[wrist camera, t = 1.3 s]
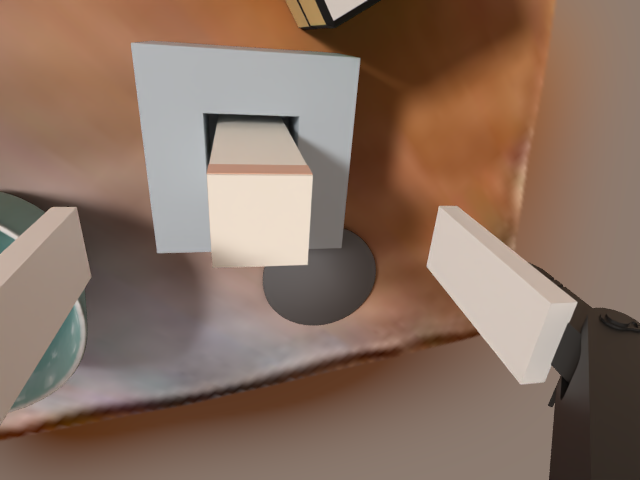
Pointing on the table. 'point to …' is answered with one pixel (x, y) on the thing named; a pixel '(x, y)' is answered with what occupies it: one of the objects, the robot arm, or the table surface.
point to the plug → (257, 194)
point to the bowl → (70, 341)
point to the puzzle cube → (326, 12)
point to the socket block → (247, 99)
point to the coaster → (322, 283)
